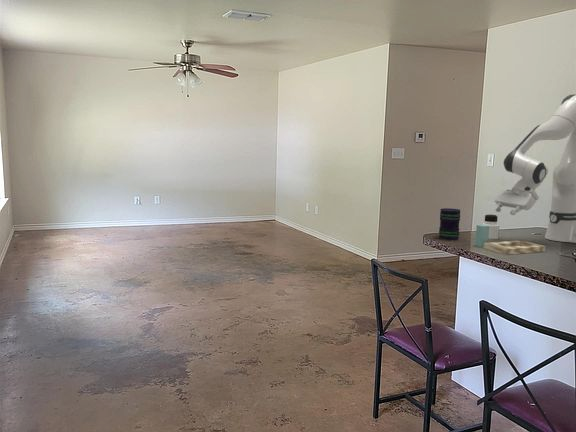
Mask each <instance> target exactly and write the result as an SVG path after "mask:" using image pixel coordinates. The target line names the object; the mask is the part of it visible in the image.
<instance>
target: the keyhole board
mask: <svg viewBox="0 0 576 432" xmlns="http://www.w3.org/2000/svg"><path fill="white" fill-rule="evenodd" d="M483 249H485V250H488V251H491V252H494V253H498V254H501V255H504V256H506V255H507V256H508V255H521V254H532V253H545V252H546V245H542V244H538V243H535V242H530V241H526V240H522V239H521V240H507V241H506V240H505V241H495V242H492V241H491V242H488V243H484V247H483Z"/></svg>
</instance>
